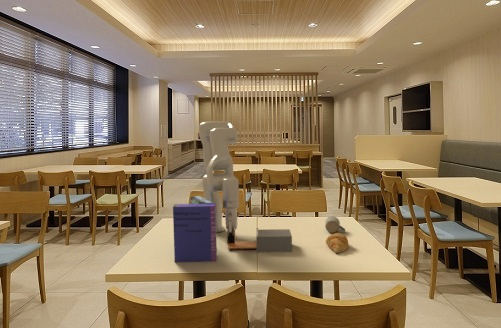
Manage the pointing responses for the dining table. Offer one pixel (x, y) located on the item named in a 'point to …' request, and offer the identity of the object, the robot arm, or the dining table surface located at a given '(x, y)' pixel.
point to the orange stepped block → (241, 243)
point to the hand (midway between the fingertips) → (231, 242)
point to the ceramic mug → (333, 225)
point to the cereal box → (195, 232)
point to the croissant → (337, 242)
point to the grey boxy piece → (274, 240)
